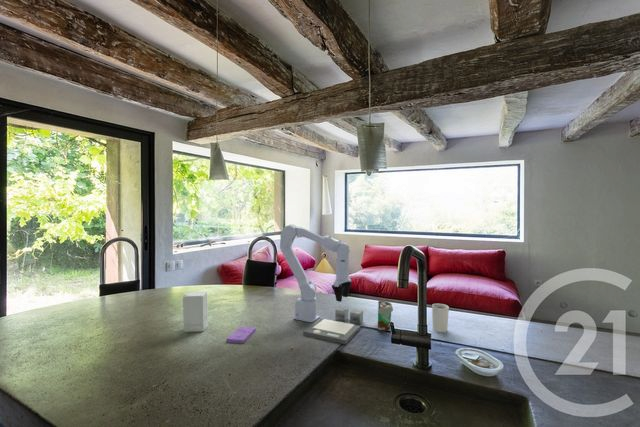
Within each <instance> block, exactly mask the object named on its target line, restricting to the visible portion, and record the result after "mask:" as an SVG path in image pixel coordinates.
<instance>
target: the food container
mask: <svg viewBox="0 0 640 427" xmlns="http://www.w3.org/2000/svg"><path fill="white" fill-rule="evenodd" d="M377 304H378V307H377V312H378V313H377V332H381V333H382V332H383V333H384V332H387V331H390V330H391V320H392V312H393V311H394V308H393V305H392V303H390V302H389V301H386V300H380V299H379V300H378V302H377ZM389 324H390V325H389Z"/></svg>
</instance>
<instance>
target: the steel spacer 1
mask: <svg viewBox="0 0 640 427" xmlns="http://www.w3.org/2000/svg"><path fill="white" fill-rule="evenodd" d="M334 312H335V317H334V319H335V320H334V321H338V322H343V323H346V322H347V321H348V320H349V308H348V307H343V306H338V307H337V308H336V309H335V311H334Z"/></svg>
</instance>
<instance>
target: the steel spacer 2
mask: <svg viewBox="0 0 640 427" xmlns="http://www.w3.org/2000/svg"><path fill="white" fill-rule="evenodd" d="M363 321H364V310H361V309H356V308H355V309H354V308H353V309H352V310H350V312H349V324H353V325H357V326H360V325H361V324H362V323H363Z"/></svg>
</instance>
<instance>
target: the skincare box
mask: <svg viewBox="0 0 640 427" xmlns="http://www.w3.org/2000/svg"><path fill="white" fill-rule="evenodd" d="M182 309H183V310H182V312H183V332H184V333H191V332H204V331H205V330H206V329H207V328H208V326H209V317H208V316H209V313H208V312H209V310H208V309H209V308H208V292H207V291H202V292H201V291H198V292H196V291H195V292H187V293H186V294H185V295H182Z"/></svg>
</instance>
